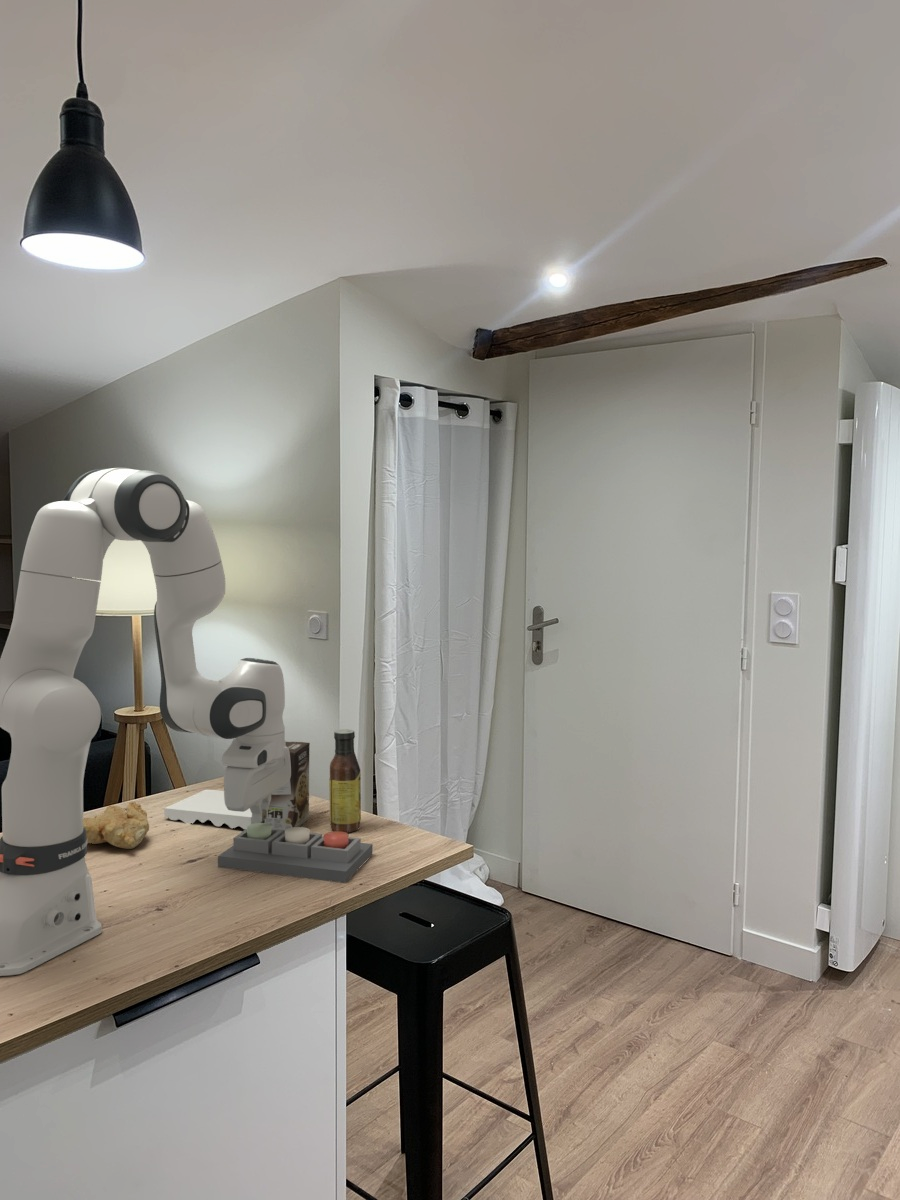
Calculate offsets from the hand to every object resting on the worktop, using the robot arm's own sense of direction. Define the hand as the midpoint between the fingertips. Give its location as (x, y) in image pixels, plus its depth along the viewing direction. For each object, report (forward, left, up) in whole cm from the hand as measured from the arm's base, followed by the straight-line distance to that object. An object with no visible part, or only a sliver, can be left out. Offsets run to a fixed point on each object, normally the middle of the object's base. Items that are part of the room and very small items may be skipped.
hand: (260, 820), depth 168 cm
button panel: (0, -7, -7) cm, 10 cm away
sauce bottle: (+19, -9, -7) cm, 22 cm away
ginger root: (-2, +29, -7) cm, 30 cm away
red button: (0, -15, -3) cm, 15 cm away
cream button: (0, -7, -3) cm, 8 cm away
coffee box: (+18, +3, -7) cm, 19 cm away
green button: (0, 0, -3) cm, 3 cm away
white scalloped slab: (+19, +17, -7) cm, 26 cm away
